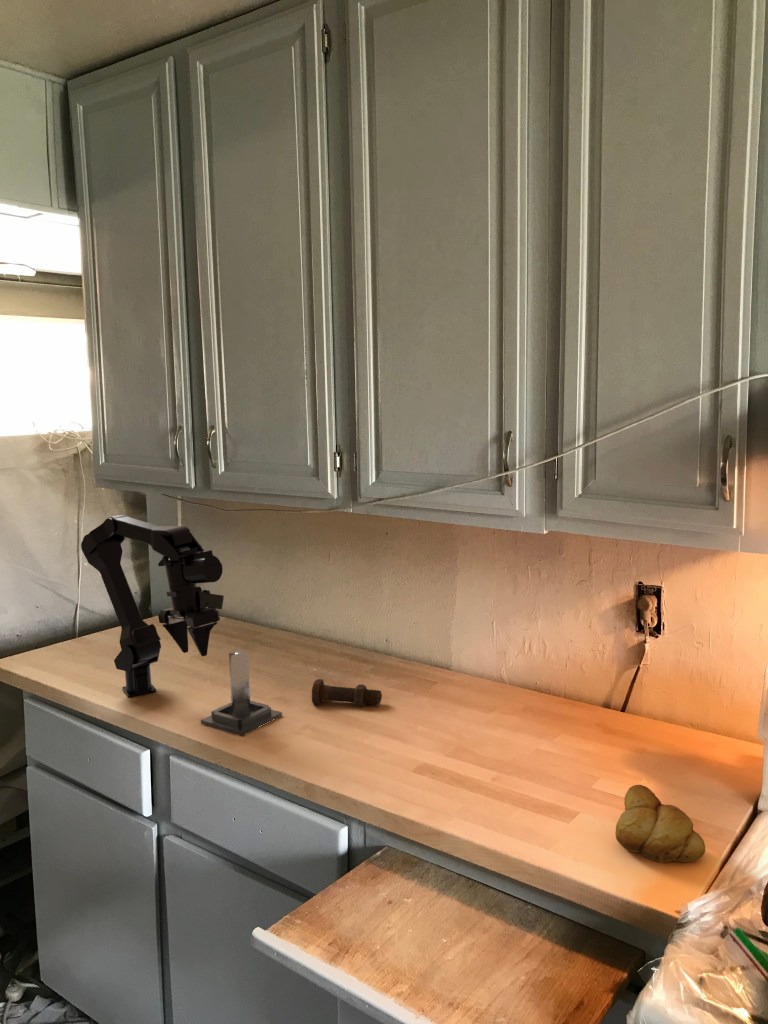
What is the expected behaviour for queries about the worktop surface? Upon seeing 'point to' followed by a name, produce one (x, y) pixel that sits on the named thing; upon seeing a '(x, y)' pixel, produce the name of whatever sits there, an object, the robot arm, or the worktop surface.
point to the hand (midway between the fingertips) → (194, 654)
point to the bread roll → (657, 829)
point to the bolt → (344, 694)
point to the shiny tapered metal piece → (239, 683)
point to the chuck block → (241, 726)
